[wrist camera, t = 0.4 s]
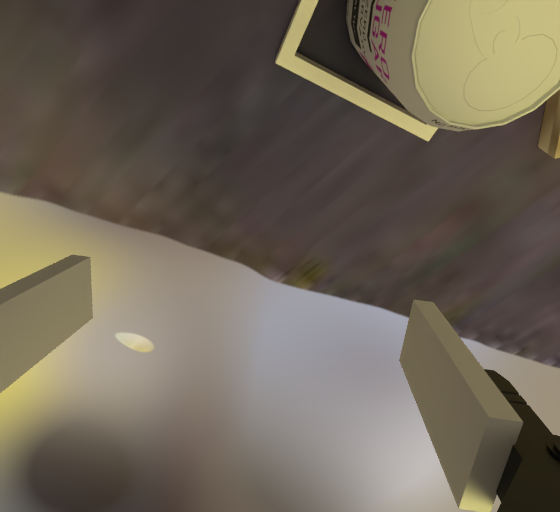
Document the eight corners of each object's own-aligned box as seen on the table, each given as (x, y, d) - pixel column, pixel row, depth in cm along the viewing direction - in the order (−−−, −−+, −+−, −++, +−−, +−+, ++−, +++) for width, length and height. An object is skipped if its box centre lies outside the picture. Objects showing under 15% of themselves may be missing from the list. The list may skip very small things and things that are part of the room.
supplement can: (476, 29, 27) (628, 79, 16) (369, 90, 30) (429, 173, 18) (446, -104, 23) (623, -176, 11) (324, -20, 26) (364, -7, 14)
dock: (275, 57, 28) (274, 76, 24) (376, -188, 21) (405, -232, 16) (420, 132, 32) (445, 162, 27) (552, -55, 25) (617, -59, 20)
